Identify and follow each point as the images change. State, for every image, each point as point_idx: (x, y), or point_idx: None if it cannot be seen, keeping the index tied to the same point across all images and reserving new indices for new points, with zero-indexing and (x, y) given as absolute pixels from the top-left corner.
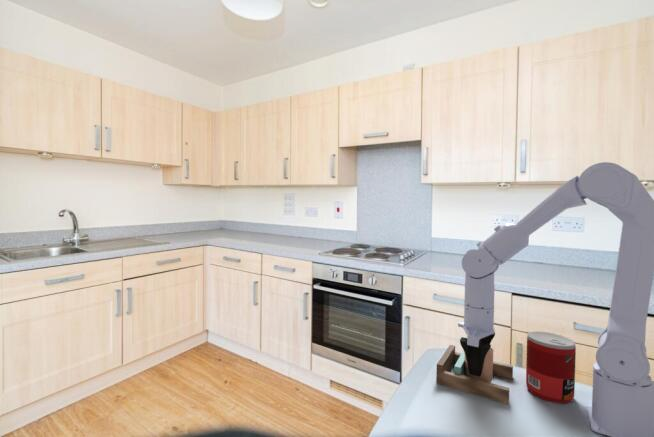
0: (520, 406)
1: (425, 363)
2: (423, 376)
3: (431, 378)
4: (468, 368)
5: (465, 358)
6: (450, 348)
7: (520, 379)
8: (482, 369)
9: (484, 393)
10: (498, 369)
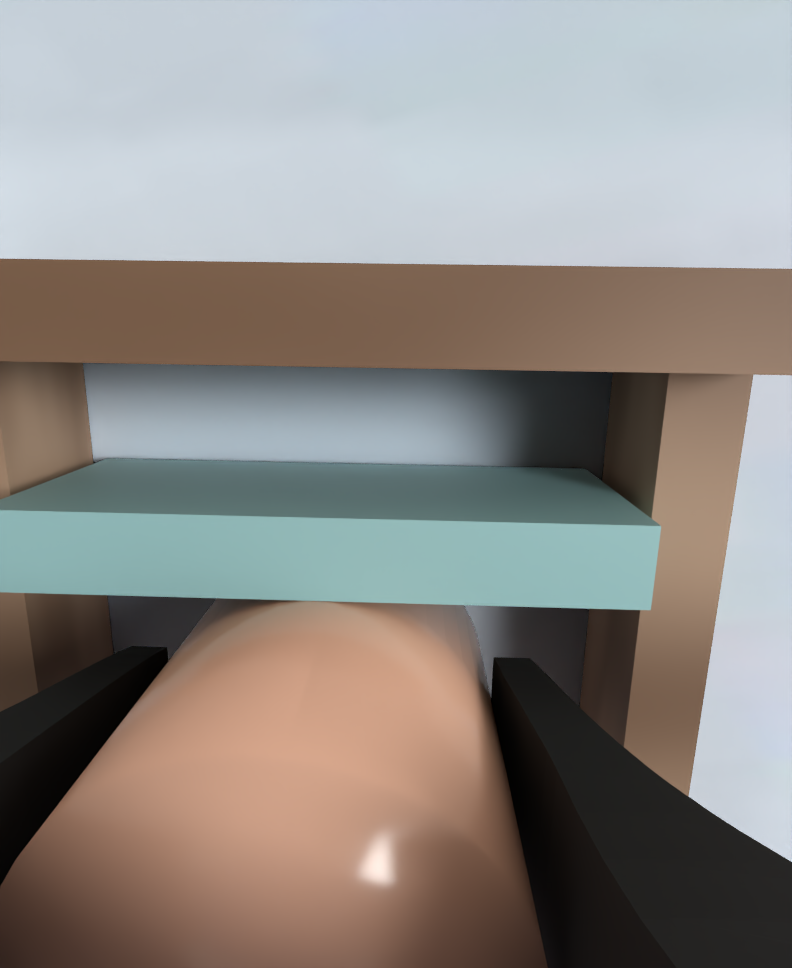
0: None
1: (444, 6)
2: (64, 102)
3: (81, 206)
4: (88, 669)
5: (200, 651)
6: (630, 320)
7: None
8: None
9: None
10: None
